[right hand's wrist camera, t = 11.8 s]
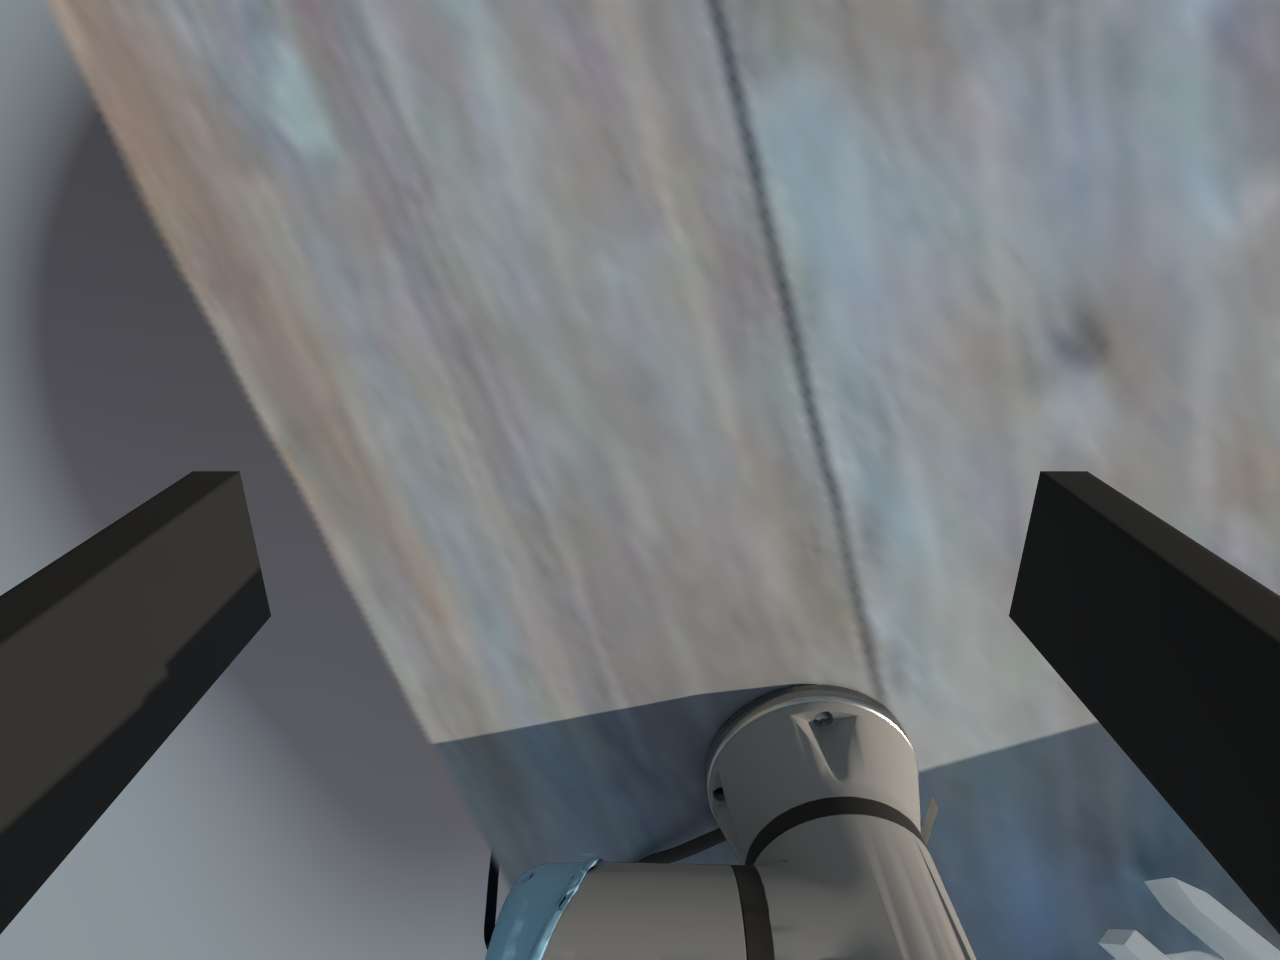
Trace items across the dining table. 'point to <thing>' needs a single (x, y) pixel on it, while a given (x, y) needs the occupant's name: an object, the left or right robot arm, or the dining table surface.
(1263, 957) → the white plastic object
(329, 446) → the dining table surface
